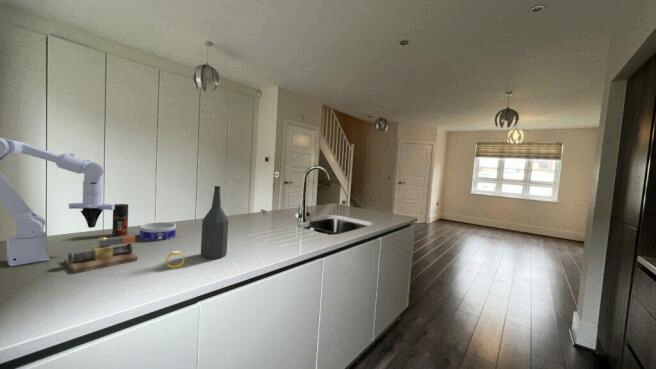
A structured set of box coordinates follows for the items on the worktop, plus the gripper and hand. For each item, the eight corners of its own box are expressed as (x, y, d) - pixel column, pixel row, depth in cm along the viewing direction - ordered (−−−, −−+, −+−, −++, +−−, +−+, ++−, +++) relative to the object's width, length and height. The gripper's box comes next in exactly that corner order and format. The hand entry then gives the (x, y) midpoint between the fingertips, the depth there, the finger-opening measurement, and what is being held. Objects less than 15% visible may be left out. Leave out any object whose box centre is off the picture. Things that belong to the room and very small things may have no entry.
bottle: (216, 261, 111) (220, 187, 109) (195, 257, 113) (199, 185, 111) (230, 253, 121) (234, 186, 119) (211, 250, 123) (214, 184, 121)
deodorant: (114, 237, 130) (115, 206, 129) (110, 234, 134) (111, 204, 133) (129, 235, 135) (130, 205, 134) (125, 232, 139) (125, 203, 138)
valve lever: (98, 247, 100) (98, 239, 99) (97, 245, 101) (97, 237, 101) (135, 242, 108) (135, 235, 108) (133, 240, 110) (133, 233, 110)
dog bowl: (172, 232, 147) (172, 221, 147) (178, 239, 136) (179, 227, 135) (138, 234, 138) (138, 223, 137) (141, 243, 126) (142, 230, 126)
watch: (183, 265, 105) (185, 250, 105) (183, 268, 102) (185, 252, 102) (165, 266, 102) (167, 250, 101) (165, 269, 99) (167, 253, 99)
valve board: (74, 273, 90) (75, 257, 90) (64, 262, 99) (64, 247, 98) (137, 260, 105) (137, 246, 105) (123, 251, 113) (124, 238, 113)
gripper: (63, 193, 102) (62, 229, 103) (108, 195, 106) (107, 229, 106) (75, 191, 109) (75, 224, 110) (117, 193, 112) (116, 225, 113)
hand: (91, 227), depth 109 cm, fingers closed
